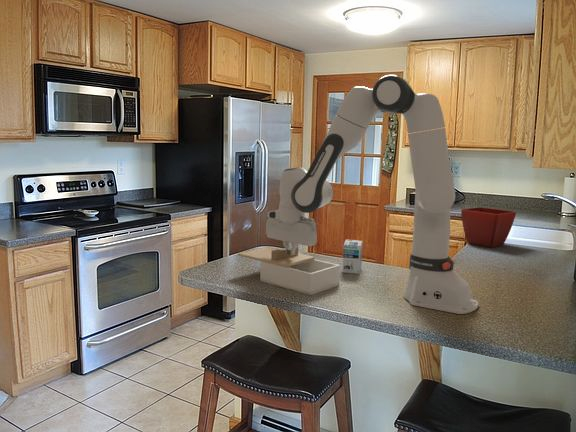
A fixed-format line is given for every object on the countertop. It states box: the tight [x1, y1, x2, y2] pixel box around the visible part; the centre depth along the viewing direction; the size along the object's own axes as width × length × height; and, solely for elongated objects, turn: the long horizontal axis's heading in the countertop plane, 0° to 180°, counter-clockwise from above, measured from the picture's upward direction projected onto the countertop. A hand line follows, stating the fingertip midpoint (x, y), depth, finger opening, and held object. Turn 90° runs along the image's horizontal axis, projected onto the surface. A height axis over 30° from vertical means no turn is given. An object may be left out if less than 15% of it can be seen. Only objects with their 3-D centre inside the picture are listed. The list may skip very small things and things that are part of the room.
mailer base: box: [259, 258, 341, 296], centre depth 171 cm, size 22×16×7 cm
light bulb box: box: [341, 238, 364, 275], centre depth 190 cm, size 11×7×11 cm, turn 168°
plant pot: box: [460, 206, 517, 248], centre depth 245 cm, size 19×19×17 cm
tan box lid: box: [237, 246, 316, 267], centre depth 177 cm, size 22×16×4 cm
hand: (290, 254), depth 173 cm, fingers closed
